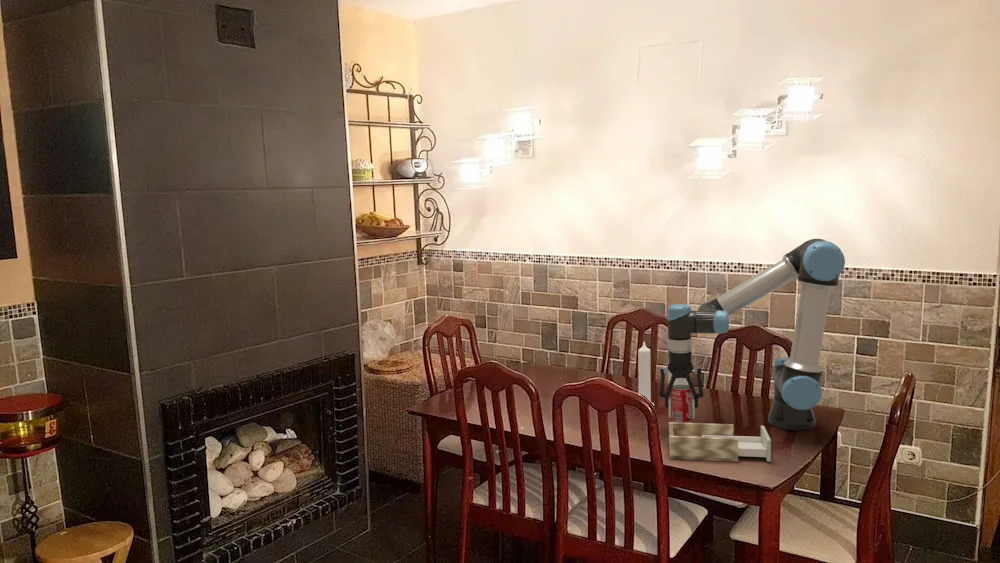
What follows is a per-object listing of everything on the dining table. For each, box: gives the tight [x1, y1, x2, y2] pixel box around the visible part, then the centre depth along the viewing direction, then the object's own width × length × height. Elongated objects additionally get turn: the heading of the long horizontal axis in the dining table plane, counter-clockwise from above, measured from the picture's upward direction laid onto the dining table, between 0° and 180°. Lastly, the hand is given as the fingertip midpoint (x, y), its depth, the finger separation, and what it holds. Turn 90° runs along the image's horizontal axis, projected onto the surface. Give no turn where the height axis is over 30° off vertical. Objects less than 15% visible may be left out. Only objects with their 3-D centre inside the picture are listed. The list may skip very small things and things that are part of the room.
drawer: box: [702, 425, 772, 463], centre depth 220 cm, size 19×13×7 cm
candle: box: [637, 341, 655, 407], centre depth 269 cm, size 7×7×25 cm
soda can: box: [669, 385, 693, 423], centre depth 241 cm, size 7×7×12 cm
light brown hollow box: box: [668, 421, 739, 463], centre depth 223 cm, size 20×14×7 cm
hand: (681, 416), depth 241 cm, fingers closed on soda can, 7 cm apart
